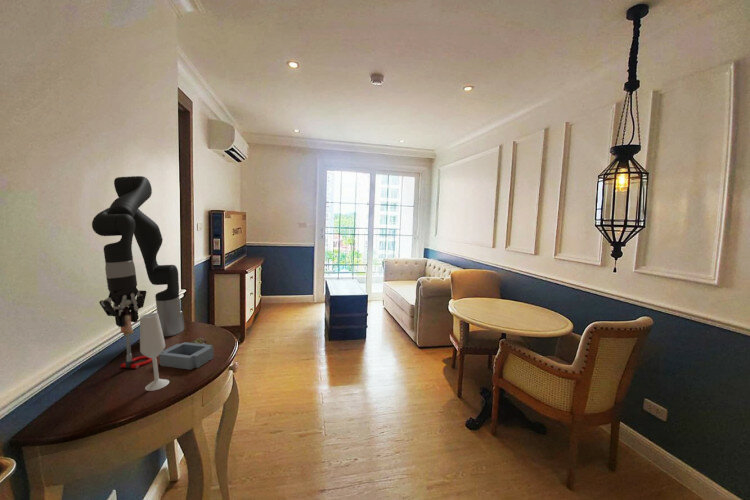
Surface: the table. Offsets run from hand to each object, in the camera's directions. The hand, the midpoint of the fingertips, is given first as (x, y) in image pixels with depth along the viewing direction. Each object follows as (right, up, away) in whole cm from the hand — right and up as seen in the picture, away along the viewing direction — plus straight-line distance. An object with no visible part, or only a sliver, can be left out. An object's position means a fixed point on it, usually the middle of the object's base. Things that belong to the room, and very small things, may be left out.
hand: (127, 323), depth 102 cm
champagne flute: (+11, -20, -2) cm, 23 cm away
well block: (+11, -18, +15) cm, 26 cm away
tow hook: (-7, -19, +14) cm, 25 cm away
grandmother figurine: (0, -4, 0) cm, 4 cm away
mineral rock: (+7, -17, +27) cm, 33 cm away
